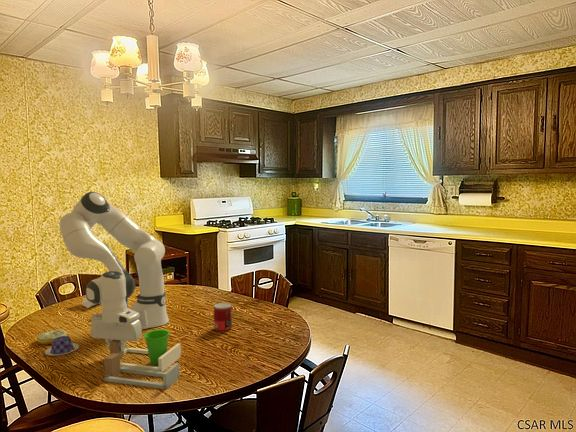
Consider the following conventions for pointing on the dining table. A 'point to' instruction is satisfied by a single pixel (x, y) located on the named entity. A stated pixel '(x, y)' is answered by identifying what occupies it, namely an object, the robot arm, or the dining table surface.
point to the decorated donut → (50, 336)
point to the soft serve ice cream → (87, 303)
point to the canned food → (222, 317)
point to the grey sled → (114, 369)
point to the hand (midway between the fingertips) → (117, 350)
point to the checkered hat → (61, 346)
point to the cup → (156, 344)
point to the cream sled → (162, 361)
